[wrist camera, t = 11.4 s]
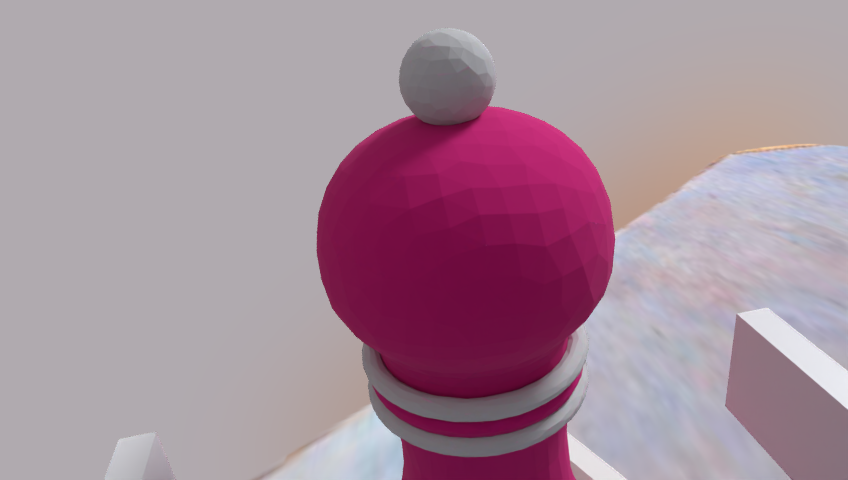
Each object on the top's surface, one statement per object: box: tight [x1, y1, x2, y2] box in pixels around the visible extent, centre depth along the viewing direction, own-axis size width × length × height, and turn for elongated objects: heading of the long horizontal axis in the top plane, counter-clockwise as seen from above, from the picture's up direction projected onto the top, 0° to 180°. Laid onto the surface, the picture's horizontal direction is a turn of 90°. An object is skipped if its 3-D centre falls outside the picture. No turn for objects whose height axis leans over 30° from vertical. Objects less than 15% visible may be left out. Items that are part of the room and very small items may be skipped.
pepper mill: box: [317, 28, 615, 480], centre depth 16 cm, size 7×7×20 cm
